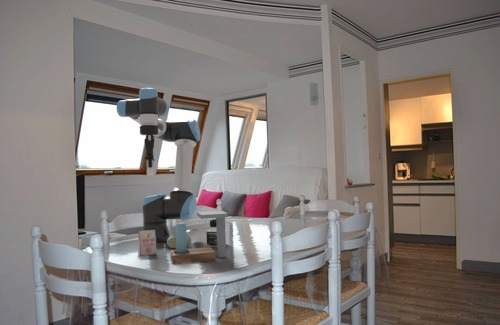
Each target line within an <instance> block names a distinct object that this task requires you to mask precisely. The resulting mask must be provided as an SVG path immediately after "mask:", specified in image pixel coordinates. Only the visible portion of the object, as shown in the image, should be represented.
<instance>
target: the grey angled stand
mask: <svg viewBox="0 0 500 325" xmlns="http://www.w3.org/2000/svg"><path fill="white" fill-rule="evenodd" d="M228 215H229V214H228V213H227V212H226V211H223V210H221V209H220V210H206V211H205V210H204V211H202V210H201V211H196V216H197V217H198V218H199V219H201V220H203V219H204V220H205V219H207V220H208V219H216V228H217V247H216V252H217V254H216V255H217V258H226V257H227V245H226V234H225V229H226V218H228Z"/></svg>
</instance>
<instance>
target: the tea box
mask: <svg viewBox="0 0 500 325" xmlns="http://www.w3.org/2000/svg"><path fill="white" fill-rule="evenodd" d="M137 234H138V236H137V250H138V252H137V255H138V256H139V257H143V256H151V255H152V256H153V255H154V256H155V255H157V242H156V236H155V230H147V231H142V230H138V232H137Z"/></svg>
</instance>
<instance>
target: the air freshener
mask: <svg viewBox="0 0 500 325" xmlns="http://www.w3.org/2000/svg"><path fill="white" fill-rule="evenodd" d="M171 231H172V232H171V234H170V237H169V238H168V239H167V241H166V245H167V246H168V247H170V248H172V249H173V250H176V224H174V225H172V227H171ZM191 243H192V238H191V236H189V235H188V234H187V247H189V246H190V245H191Z"/></svg>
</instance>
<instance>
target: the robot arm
mask: <svg viewBox="0 0 500 325" xmlns="http://www.w3.org/2000/svg"><path fill="white" fill-rule="evenodd" d="M138 92H139V93H138V98H135V99H133V98H132V99H123V100H118V102H117V103H116V113H117V114H118V117H121V118H130V119H132V120H133V121H134V122H136V123H138V124H139V125H140V126H139V134H140V135H141V136H145V138H144V145H145V150H146V156H144V160H146V176H147V177H154V176H155V166H154V162H155V158H154V148H155V138H156V139H159V140H162V141H164V142H166V143H167V142H168V143H174V145H175V146H176V151H175V152H176V154H175V156H176V157H175V164H174V165H175V166H174V180H173V188H172V190H171V191H170V192H169V196H167V194H166V193H161V194H155V195H154V194H153V195H148V196H145V197H143V199H142V217H143V218H142V220H143V222H142V225H143V227H142V229H141V231H147V230H155V236H156V243H162V242H163V243H164V242H167V239H168V238H169V237H170V236H171V233H170V232H171V231H170V229H169V228H168V227H169V226H168V224H167V223H168V222H167V221H168V220H183V221H184V220H190V219H191V218H193V217H194V215H195V213H196V211H197V197H196V196H195V195H194V194H193V193H194V192H193V191H192V190H191V183H192V171H193V170H192V169H193V159H194V157H193V156H194V148H195V147H196V146H197V142H200V141H201V137H202V136H201V129H200V126H199V123H198V121H197V120H196V119H182V120H181V119H179V120H164V119H162V118H159V117H164V116H166V115H167V114H168V112H169V109H170V106H169V103H168V102H167V101H166V100H165V99H163V98H160V97H159V95H158V90H157V88H154V87H153V88H152V87H143V88H140V89H139V91H138ZM154 137H155V138H154Z"/></svg>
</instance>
